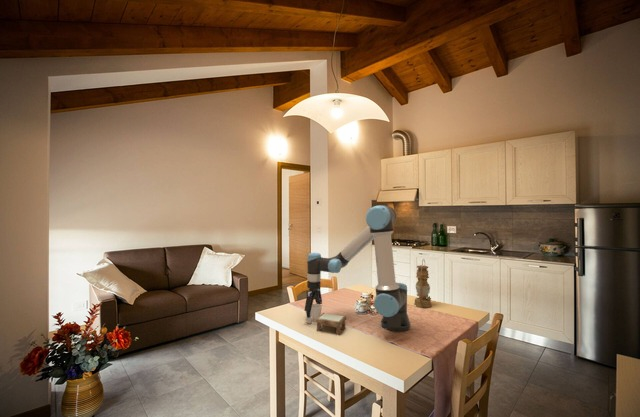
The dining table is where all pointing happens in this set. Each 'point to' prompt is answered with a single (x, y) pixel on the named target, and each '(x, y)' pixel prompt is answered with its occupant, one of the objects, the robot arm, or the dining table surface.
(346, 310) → the dining table surface
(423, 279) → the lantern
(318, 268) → the robot arm
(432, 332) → the dining table surface
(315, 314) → the cup
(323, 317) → the felt pad
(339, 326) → the footstool
